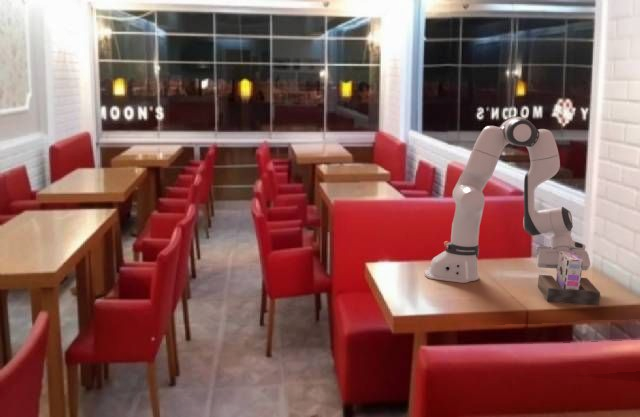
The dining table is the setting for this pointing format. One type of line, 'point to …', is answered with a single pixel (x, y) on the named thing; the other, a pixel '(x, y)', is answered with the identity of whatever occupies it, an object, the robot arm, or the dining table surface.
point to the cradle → (568, 291)
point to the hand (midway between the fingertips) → (564, 277)
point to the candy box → (569, 270)
